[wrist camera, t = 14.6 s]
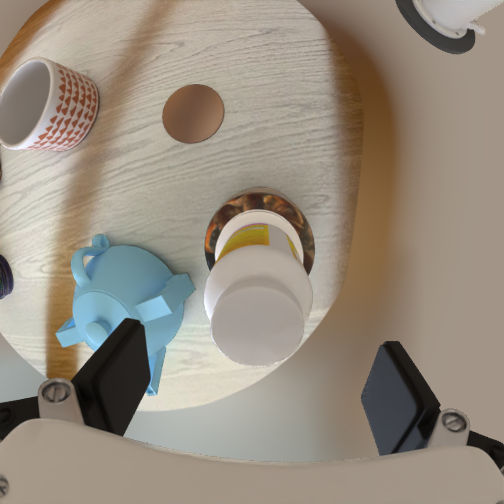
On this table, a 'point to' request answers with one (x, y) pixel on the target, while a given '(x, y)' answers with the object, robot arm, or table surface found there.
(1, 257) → the storage jar
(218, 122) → the brown coaster
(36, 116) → the planter
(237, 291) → the supplement bottle
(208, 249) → the jar
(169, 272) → the teapot
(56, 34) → the table surface
